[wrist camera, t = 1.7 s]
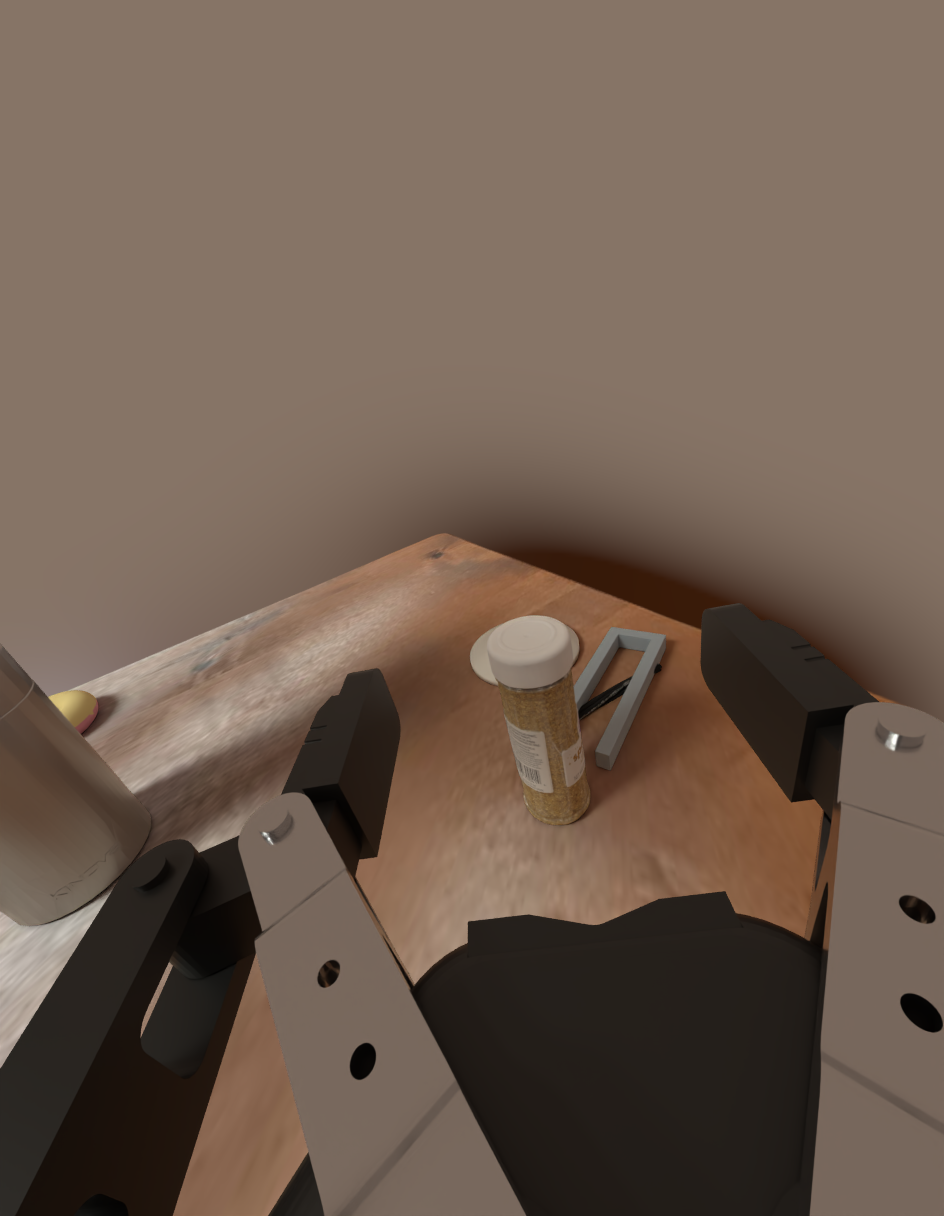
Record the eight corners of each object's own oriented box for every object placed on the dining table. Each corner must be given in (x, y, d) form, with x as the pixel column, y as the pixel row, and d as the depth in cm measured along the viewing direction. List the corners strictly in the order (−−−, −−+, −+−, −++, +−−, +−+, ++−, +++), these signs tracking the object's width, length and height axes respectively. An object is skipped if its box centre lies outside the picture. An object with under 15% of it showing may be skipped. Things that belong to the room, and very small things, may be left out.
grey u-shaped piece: (545, 748, 34) (543, 734, 34) (612, 639, 44) (611, 626, 43) (610, 770, 31) (609, 755, 31) (666, 648, 41) (665, 635, 41)
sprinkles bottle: (604, 810, 29) (586, 640, 22) (541, 839, 28) (503, 671, 22) (569, 760, 33) (545, 603, 26) (512, 785, 32) (473, 629, 26)
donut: (19, 792, 47) (111, 733, 51) (-23, 771, 44) (78, 710, 48) (22, 736, 54) (103, 687, 57) (-15, 714, 51) (73, 664, 54)
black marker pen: (550, 742, 35) (548, 733, 35) (542, 735, 36) (540, 726, 36) (662, 673, 39) (662, 664, 39) (653, 668, 40) (653, 659, 39)
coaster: (450, 673, 45) (448, 669, 45) (504, 616, 52) (504, 612, 52) (550, 700, 39) (549, 694, 38) (596, 630, 46) (595, 626, 46)
